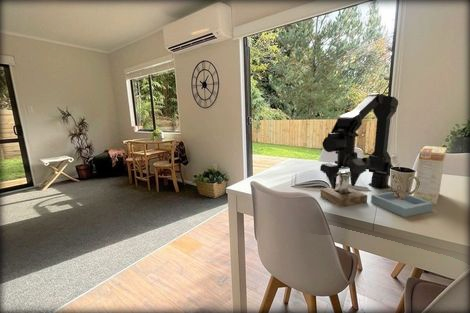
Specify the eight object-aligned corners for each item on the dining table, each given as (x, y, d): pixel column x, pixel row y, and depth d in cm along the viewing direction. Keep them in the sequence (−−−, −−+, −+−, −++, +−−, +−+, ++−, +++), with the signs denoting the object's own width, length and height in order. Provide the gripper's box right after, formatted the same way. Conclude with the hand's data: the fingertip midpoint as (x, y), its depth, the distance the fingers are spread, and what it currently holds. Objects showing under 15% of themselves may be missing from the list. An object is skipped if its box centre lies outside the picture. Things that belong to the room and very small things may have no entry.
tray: (396, 197, 91) (397, 190, 90) (432, 211, 78) (433, 203, 78) (370, 202, 87) (371, 194, 86) (404, 217, 75) (405, 208, 74)
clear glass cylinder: (343, 196, 94) (344, 170, 92) (352, 200, 89) (354, 173, 87) (333, 197, 93) (335, 171, 90) (342, 202, 88) (343, 174, 86)
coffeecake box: (418, 189, 98) (424, 145, 94) (440, 193, 93) (447, 147, 89) (412, 200, 88) (418, 151, 84) (436, 205, 83) (444, 153, 79)
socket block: (343, 191, 98) (344, 185, 98) (366, 202, 87) (367, 195, 86) (320, 195, 95) (320, 188, 94) (341, 207, 84) (341, 199, 83)
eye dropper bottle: (389, 176, 117) (392, 154, 114) (385, 173, 122) (388, 152, 120) (399, 177, 116) (402, 154, 113) (394, 174, 121) (397, 152, 118)
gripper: (341, 154, 77) (338, 198, 80) (383, 150, 82) (379, 191, 85) (320, 149, 87) (318, 187, 90) (359, 145, 92) (356, 182, 96)
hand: (343, 187), depth 90 cm, fingers open, 9 cm apart
